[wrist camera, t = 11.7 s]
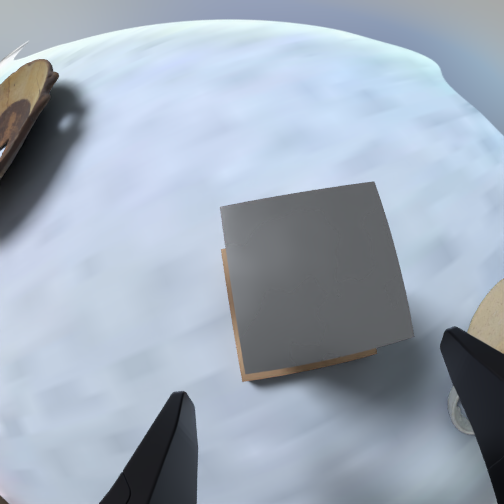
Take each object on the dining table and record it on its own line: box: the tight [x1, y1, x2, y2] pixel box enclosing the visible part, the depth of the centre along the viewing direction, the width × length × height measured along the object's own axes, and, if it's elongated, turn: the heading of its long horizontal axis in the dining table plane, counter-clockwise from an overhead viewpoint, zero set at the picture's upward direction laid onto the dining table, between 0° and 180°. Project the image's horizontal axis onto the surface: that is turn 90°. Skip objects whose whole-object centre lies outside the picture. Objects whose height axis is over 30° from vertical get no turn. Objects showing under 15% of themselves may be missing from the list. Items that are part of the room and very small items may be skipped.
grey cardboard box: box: [220, 182, 414, 374], centre depth 13 cm, size 6×5×9 cm
